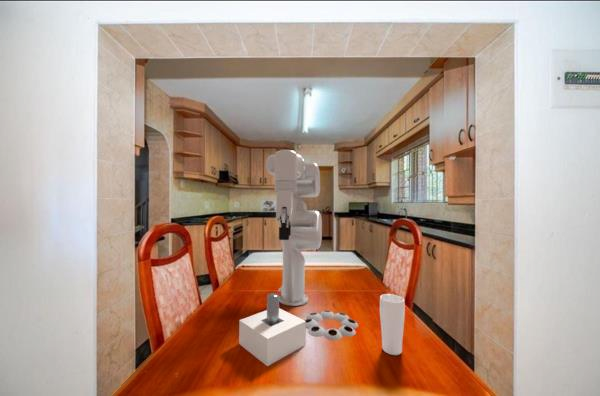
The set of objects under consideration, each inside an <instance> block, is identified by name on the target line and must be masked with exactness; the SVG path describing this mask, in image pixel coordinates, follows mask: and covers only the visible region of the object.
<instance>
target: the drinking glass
mask: <svg viewBox="0 0 600 396" xmlns="http://www.w3.org/2000/svg"><path fill="white" fill-rule="evenodd" d="M405 304H406V302H405V298H404V297H403V296H400V295H397V294H393V293H384V294H381V295H380V296H379V317H380V330H381V349H382V350H383V352H385V353H387V354H388V355H391V356H399V355H400V354H402V353H403V339H404V338H403V337H404V328H405V326H404V325H405V318H406V317H405V316H406V306H405Z"/></svg>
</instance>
